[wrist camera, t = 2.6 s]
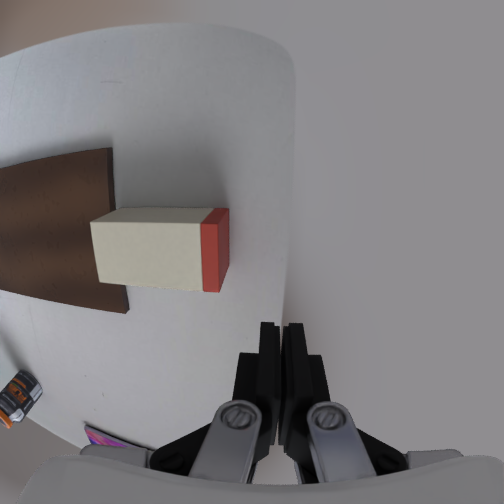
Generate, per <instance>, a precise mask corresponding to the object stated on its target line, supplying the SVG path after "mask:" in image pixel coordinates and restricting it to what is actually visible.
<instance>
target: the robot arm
mask: <svg viewBox="0 0 504 504" xmlns="http://www.w3.org/2000/svg"><path fill="white" fill-rule="evenodd" d="M277 423H278V443H279V445H284V453H287V455H288V456H289V457H290V458H292V459H293V460H294V466H295V471H296V476H297V479H298V484H299V485H262V484H253V480H254V476H255V473H256V469H257V465H258V461H260V460H261V459H263V458H264V457H265V456H267V455H268V454H269V447H270V445H274V442H275V436H276V430H277ZM16 504H504V463H503V462H502V461H501V460H499V459H497V458H495V457H491V456H479V455H478V456H477V455H476V456H463V455H462V454H461V453H460V452H459V451H457V450H454V449H446V450H431V451H408V452H407V453H406V454H402V453H401V452H399V451H398V450H396V449H394V448H393V447H391V446H389V445H387V444H385V443H383V442H381V441H379V440H377V439H376V438H374V437H372V436H370V435H368V434H366V433H365V432H363V431H361V430H359V429H358V428H356V426H355V424H354V422H353V419H352V417H351V415H350V413H349V412H348V410H347V409H346V408H345V407H344V406H343V405H341V404H339V403H336V402H331V401H330V395H329V390H328V385H327V380H326V375H325V370H324V365H323V361H322V357H321V355H308V353H307V346H306V340H305V334H304V327H303V323H289V326H284V327H283V336H282V346H281V354H280V326H274V322H261V328H260V343H259V353H242V352H240V354H239V360H238V366H237V372H236V379H235V385H234V391H233V397H232V401H228V402H226V403H224V404H223V405H221V406H220V407H219V408H218V410H217V411H216V414H215V416H214V418H213V421H212V422H211V423H209V424H207V425H206V426H204V427H202V428H200V429H198V430H196V431H194V432H192V433H190V434H188V435H186V436H184V437H182V438H180V439H178V440H175V441H173V442H171V443H169V444H167V445H165V446H162V447H160V448H159V449H157V450H156V451H148V450H147V448H135V447H122V446H112V445H103V444H90V445H87V446H85V447H84V448H83V449H82V450H81V452H80V454H79V455H60V456H55V457H52V458H50V459H48V460H46V461H45V462H44V463H43V464H41V466H40V467H39V468H38V469H37V470H36V471H35V473H34V474H33V475H32V477H31V478H30V480H29V481H28V483H27V484H26V486H25V488H24V490H23V491H22V493H21V495H20V497H19V498H18V500H17V502H16Z"/></svg>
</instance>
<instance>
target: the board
mask: <svg viewBox="0 0 504 504" xmlns="http://www.w3.org/2000/svg"><path fill="white" fill-rule="evenodd" d="M112 211H115V201H114V186H113V163H112V148H101V149H94V150H87V151H81V152H75V153H69V154H63V155H58V156H53V157H48V158H43V159H38V160H34V161H29V162H25V163H21V164H17V165H13V166H9V167H5V168H1V169H0V289H1V290H5V291H9V292H13V293H17V294H21V295H25V296H30V297H34V298H39V299H44V300H48V301H53V302H58V303H63V304H69V305H74V306H80V307H85V308H91V309H97V310H103V311H110V312H116V313H123V314H126V313H127V312H128V310H129V304H128V299H127V294H126V288H125V285H122V284H112V283H103V282H100V281H99V276H98V271H97V266H96V260H95V254H94V247H93V241H92V234H91V226H90V222H91V221H93V220H96V219H98V218H100V217H102V216H104V215H106V214H108V213H110V212H112Z"/></svg>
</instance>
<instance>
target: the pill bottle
mask: <svg viewBox="0 0 504 504" xmlns="http://www.w3.org/2000/svg"><path fill="white" fill-rule="evenodd" d="M41 395H42V389H41V387H40V385H39V383H38V382H37V381H36V380H35V379H34V378H33V377H32V376H31V375H30V374H29V373H28V372H26V371H24V370H20V371H19V372H18V373H17V374H16V375H15V376H14V378H13V379H12V380H11V381H10V382H9V383H8V384H7V385H6V387H5V388H4V389H3V390H2V391H1V392H0V422H1V423H2V424H3V425H4V426H5V427H7V428H10V427H11V426H12V425H13V422H15V423H20V422H21V421H22V420H23V419H24V417H25V416H26V415H27V413H28V412H29V411H30V409H31V408H32V407H33V405H34V404H35V403H36V401H37V400H38V399H39V397H40V396H41Z"/></svg>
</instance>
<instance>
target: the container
mask: <svg viewBox="0 0 504 504" xmlns="http://www.w3.org/2000/svg"><path fill="white" fill-rule="evenodd" d="M90 226H91V234H92V241H93V247H94V254H95V260H96V266H97V271H98V276H99V281H100V282H103V283H112V284H122V285H132V286H142V287H153V288H164V289H176V290H189V291H204V292H220V289H221V287H222V284H223V281H224V278H225V275H226V273H227V270H228V267H229V209H228V208H215V209H214V208H119V209H117V210H115V211H112V212H110V213H108V214H106V215H104V216H102V217H100V218H98V219H96V220H93V221H91V222H90Z"/></svg>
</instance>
